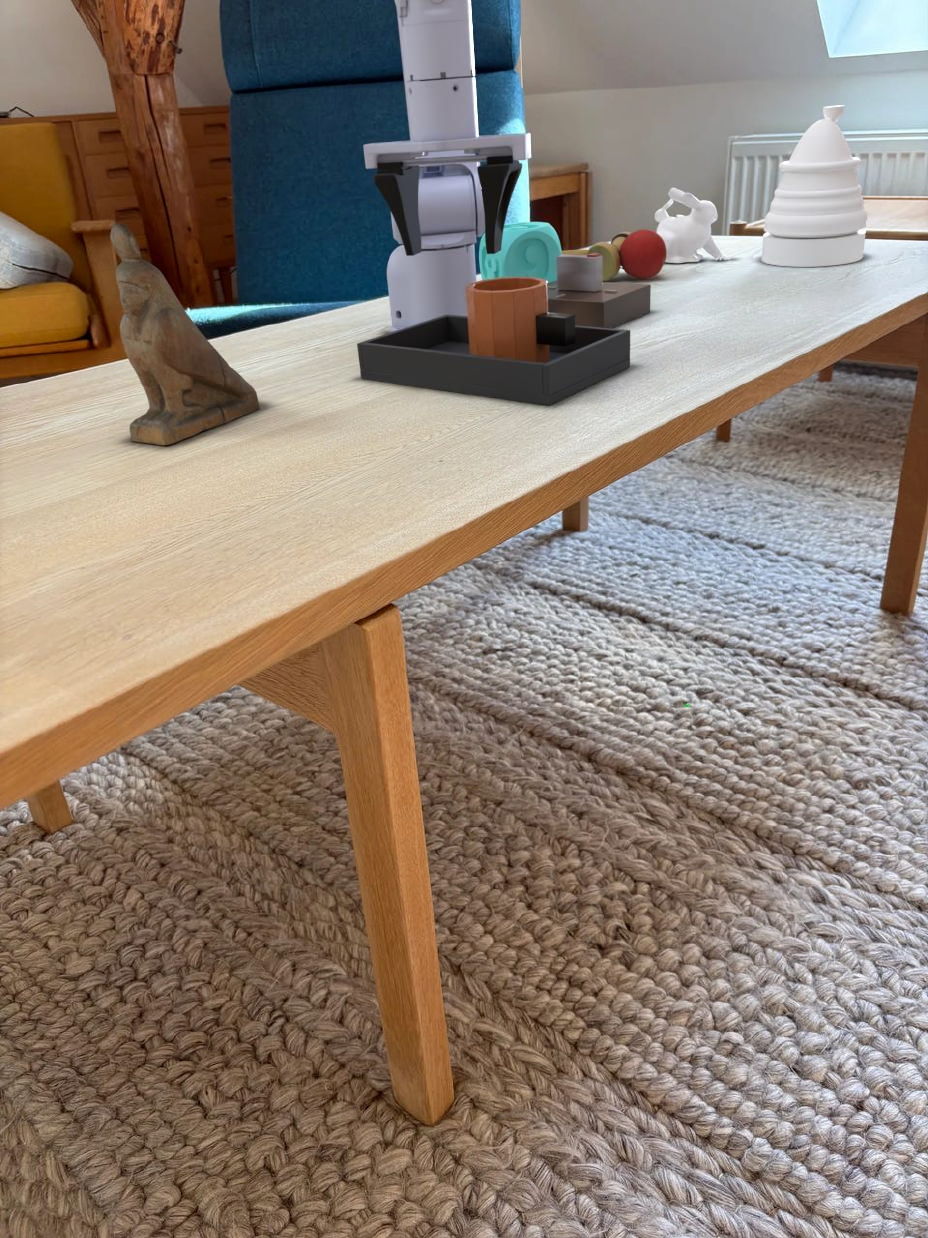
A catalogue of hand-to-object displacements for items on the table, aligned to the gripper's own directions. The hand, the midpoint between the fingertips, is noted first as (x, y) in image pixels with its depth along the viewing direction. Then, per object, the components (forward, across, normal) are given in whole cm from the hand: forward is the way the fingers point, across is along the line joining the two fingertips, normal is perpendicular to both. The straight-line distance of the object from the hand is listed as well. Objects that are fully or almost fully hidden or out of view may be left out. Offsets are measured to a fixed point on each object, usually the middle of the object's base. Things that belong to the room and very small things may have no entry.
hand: (453, 253), depth 87 cm
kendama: (+11, +3, +48) cm, 49 cm away
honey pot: (+11, +29, +59) cm, 66 cm away
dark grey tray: (+10, +4, -1) cm, 11 cm away
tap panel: (+10, +6, +22) cm, 25 cm away
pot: (+9, +7, -2) cm, 12 cm away
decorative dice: (+11, -5, +36) cm, 38 cm away
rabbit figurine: (+11, +12, +58) cm, 60 cm away
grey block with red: (+7, +6, +22) cm, 24 cm away
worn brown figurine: (+11, -17, -19) cm, 27 cm away
